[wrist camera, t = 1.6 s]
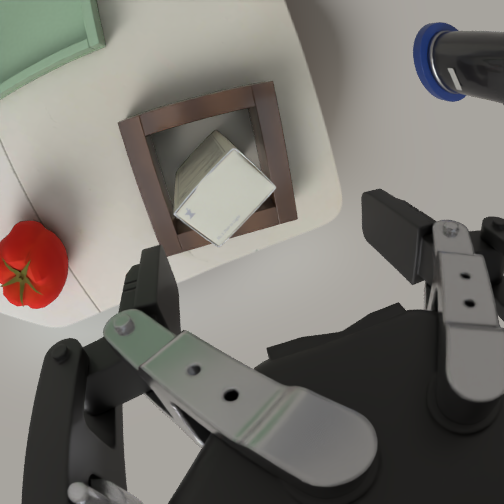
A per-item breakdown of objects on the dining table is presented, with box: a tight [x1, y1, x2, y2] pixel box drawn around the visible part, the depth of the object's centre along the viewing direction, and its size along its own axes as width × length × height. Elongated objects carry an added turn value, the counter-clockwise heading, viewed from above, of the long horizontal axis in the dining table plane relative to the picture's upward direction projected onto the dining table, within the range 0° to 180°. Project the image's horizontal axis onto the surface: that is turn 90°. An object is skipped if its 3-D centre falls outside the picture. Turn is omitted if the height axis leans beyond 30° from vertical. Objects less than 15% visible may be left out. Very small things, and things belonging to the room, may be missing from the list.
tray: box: [0, 0, 106, 100], centre depth 18 cm, size 20×16×3 cm
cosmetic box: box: [174, 130, 276, 247], centre depth 27 cm, size 6×4×12 cm
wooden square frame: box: [118, 81, 298, 257], centre depth 30 cm, size 14×14×4 cm
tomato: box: [0, 221, 68, 309], centre depth 29 cm, size 9×9×8 cm
